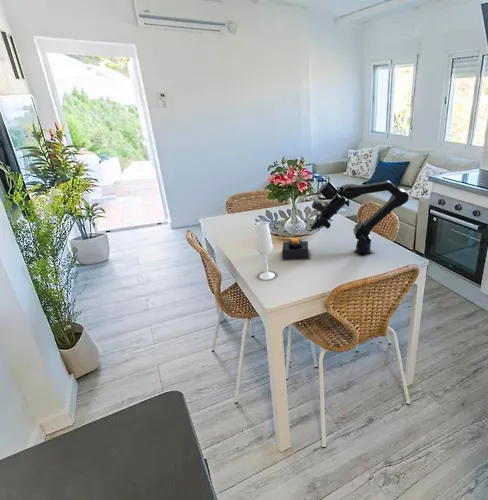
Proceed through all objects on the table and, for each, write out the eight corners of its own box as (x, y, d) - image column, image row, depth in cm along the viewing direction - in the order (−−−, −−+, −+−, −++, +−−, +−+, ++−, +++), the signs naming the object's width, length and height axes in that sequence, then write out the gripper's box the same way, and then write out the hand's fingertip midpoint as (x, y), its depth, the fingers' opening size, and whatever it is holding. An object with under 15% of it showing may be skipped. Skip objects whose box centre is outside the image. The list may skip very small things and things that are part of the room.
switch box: (308, 250, 176) (307, 237, 173) (308, 258, 167) (308, 245, 164) (284, 251, 174) (283, 238, 171) (283, 259, 165) (282, 246, 162)
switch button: (299, 241, 170) (298, 237, 169) (299, 243, 166) (298, 240, 166) (291, 241, 169) (291, 238, 169) (291, 244, 166) (291, 240, 165)
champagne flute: (256, 275, 150) (250, 223, 140) (269, 270, 155) (264, 219, 145) (265, 281, 146) (260, 227, 136) (278, 275, 150) (274, 223, 141)
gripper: (320, 189, 168) (298, 211, 172) (323, 199, 152) (298, 224, 155) (336, 205, 173) (315, 226, 176) (340, 216, 156) (316, 240, 159)
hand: (311, 228), depth 166 cm, fingers closed
